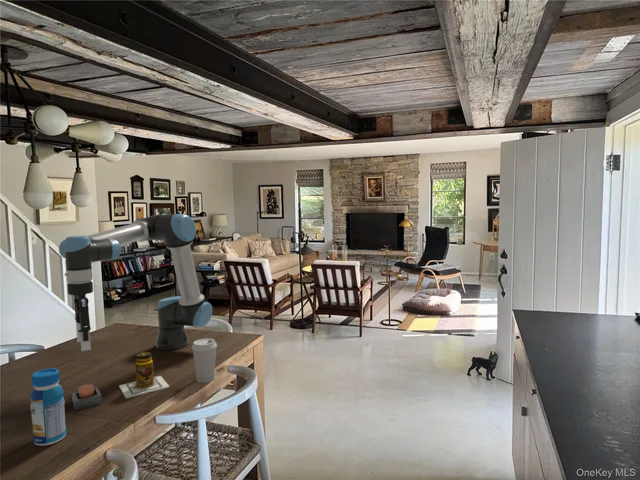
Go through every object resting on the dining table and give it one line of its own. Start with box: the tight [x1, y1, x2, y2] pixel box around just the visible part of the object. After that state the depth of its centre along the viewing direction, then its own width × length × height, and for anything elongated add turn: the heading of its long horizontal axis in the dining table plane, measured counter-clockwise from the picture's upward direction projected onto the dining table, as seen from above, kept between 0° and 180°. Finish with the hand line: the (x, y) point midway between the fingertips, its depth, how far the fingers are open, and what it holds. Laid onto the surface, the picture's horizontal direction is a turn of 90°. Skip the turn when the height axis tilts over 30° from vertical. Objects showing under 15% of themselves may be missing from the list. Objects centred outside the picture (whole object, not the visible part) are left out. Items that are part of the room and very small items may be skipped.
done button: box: [78, 383, 95, 398], centre depth 149 cm, size 5×5×3 cm
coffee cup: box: [191, 338, 218, 384], centre depth 167 cm, size 10×10×15 cm
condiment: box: [128, 351, 159, 390], centre depth 161 cm, size 7×8×12 cm
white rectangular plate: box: [118, 375, 170, 399], centre depth 161 cm, size 15×12×1 cm
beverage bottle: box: [29, 367, 67, 447], centre depth 125 cm, size 8×8×20 cm
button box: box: [71, 386, 103, 411], centre depth 149 cm, size 8×8×3 cm
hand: (83, 345), depth 148 cm, fingers open, 11 cm apart
